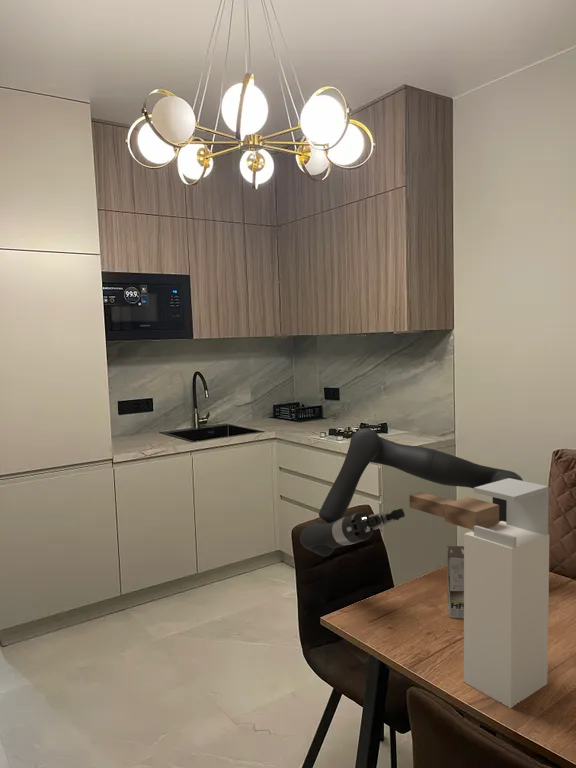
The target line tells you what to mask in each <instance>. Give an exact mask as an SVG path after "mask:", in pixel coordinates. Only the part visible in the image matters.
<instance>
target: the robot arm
mask: <svg viewBox="0 0 576 768" xmlns="http://www.w3.org/2000/svg"><path fill="white" fill-rule="evenodd" d="M370 463H374V464H379V465H383V466H387V467H391V468H395V469H397V470H399V471H401V472H404V473H407V474H409V475H411V476H414V477H417V478H419V479H421V480H422V479H423V480H425V481H428V482H432V483H435V484H438V485H443V486H449V487H460V488H470V489H473V490H474V487H478V486H482V485H485V484H489V483H493V482H497V481H500V480H504V479H508V478H511V479H516V480H521V481H524V479H523V478H522V476H520V474H518V473H516V472H514V471H511V470H506V469H502V468H501V469H500V468H497V467H491V466H485V465H482V464H481V465H480V464H478V463H475V462H472V461H469V460H467V459H464V458H462V457H459V456H455V455H453V454H450V453H447V452H443V451H440V450H436V449H434V448H429V447H424V446H416V445H410V444H409V445H408V444H401V443H398V442H394V441H392V440H389V439H386V438H384V437H381V436H379V434H378V433H377V432H376V431H375V430H373V429H372V428H367V427H365V428H360V429H359V430H356V431H355V432H354V433H353V435H352V436H351V437H350V441H349V447H348V450H347V452H346V455H345V459H344V461H343V464H342V466H341V468H340V470H339V472H338V475H337V477H336V478H335V481H334V482H333V484H332V486H331V488H330V490H329V492H328V493H327V496H326V497H325V500H324V501H323V503H322V505H321V507H320V509H319V512H318V516H319V518H320V520H322V521H324V522H321V523H319V522H318V523H312V524H309V525H307V526H305V528H303V529H302V530H301V533H300V536H299V540H300V544H301V545H302V547H303V548H304V549H306V550H308V551H310V552H312V553H315V554H317V555H319V556H321V557H329V556H330V555H331V554H333V553H334V551H335V549H337V548H341V547H344V546H348V545H349V546H350V545H353V544H357V543H360V542H363V541H367V540H369V539H370V538H371V537H372V535H373V532H374V531H375V530H378V529H380V528H381V527H385V526H388V525H389V523H391V522H395V521H399V520H400V519H402V518H404V517H405V511H404V509H403V508H398V509H393V510H390V511H388V512H385V511H383V512H378V513H375V514H373V513H372V514H369V515H368V514H366V513H365V512H362V511H356V512H354V513H351V514H348V515H346V513H347V511H348V509H349V507H350V504H351V502H352V499H353V497H354V495H355V492H356V489H357V486H358V484H359V483H360V480H361V477H362V475H363V473H364V472H365V470H366V469H367V467H368V465H369V464H370ZM492 503H494V504H498V505H499V522H500V521H504V522H506V514H507V500H503V499H499V498H495V497H492Z"/></svg>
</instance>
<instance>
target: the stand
mask: <svg viewBox="0 0 576 768" xmlns="http://www.w3.org/2000/svg"><path fill="white" fill-rule="evenodd" d="M549 488H550V486H549V485H544V484H540V483H534V482H529V481H525V480H523V481H521V480H516V479H511V478H508V479H504V480H500V481H497V482H493V483H489V484H485V485H482V486H478V487H474V489H473V492H474V493H476V494H479V495H483V496H486V497H487V496H488V497H491V498H493V497H495V498H499V499H503V500H507V514H506V522H504V521H500V522H499V523H498V524H495V525H492V526H489V527H486V528H484V527H480V526H477V525H476V526H474V530H471V531H468V532H466V533H464V535H463V539H464V540H463V544H464V545H463V546H464V619H463V683H465V684H466V685H469V686H470V687H472V688H473V689H475V690H477V691H479V692H481V693H482V694H485V695H486V696H488V697H489V698H491V699H493V700H495V701H497V702H498V703H500V702H501V704H502V705H504V706H506V707H507V706H508V707H507V708H509V709H512V708H513V707H515V706H517V703H518V704H519V703H521V702H522V701H524V700H525V699H527V698H528V697H530V696H531V695H533V694H534V693H536V692H537V691H539V690H540V689H542V688H544V687H545V686H546V685H547V684H548V665H549V664H548V661H549V660H548V659H549V658H548V657H549V656H548V655H549V653H548V650H549V645H548V644H549V591H550V589H549V587H550V586H549V583H550V533H549V503H550V502H549V501H550V499H549V497H550V496H549V495H550V494H549V493H550V492H549V491H550V489H549ZM520 701H521V702H520ZM514 705H515V706H514Z"/></svg>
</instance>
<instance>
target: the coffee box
mask: <svg viewBox="0 0 576 768" xmlns="http://www.w3.org/2000/svg"><path fill="white" fill-rule="evenodd" d="M446 547H447V550H446V551H447V553H446V556H447V557H446V560H447V563H446V565H447V566H446V571H447V574H446V577H447V582H446V583H447V584H446V585H447V586H446V587H447V589H446V590H447V599H446V601H447V602H446V603H447V607H448V614H449V615H448V616H449V618H453V619H462V620H464V545H460V546H459V545H457V546H456V545H455V546H454V545H453V546H452V545H447V546H446Z"/></svg>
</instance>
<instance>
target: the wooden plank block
mask: <svg viewBox="0 0 576 768" xmlns="http://www.w3.org/2000/svg"><path fill="white" fill-rule="evenodd" d="M409 508H410V509H412V510H413V509H414V510H416V511H420V512H423V513H427V514H431V515H433V516H437V517H441V518H443V519H444V522H445V523H448V524H450V525H454V526H458V527H461V528H465V529H469V530H471V531H474V526H476V525H477V526H480V527H484V528H486V527H489V526H492V525H495V524H498V523H499V505H498V504H494V503H493V502H490V501H487V500H486V501H484V500H482V499H477V498H473V497H471V496H470V497H469V496H467V497H464V498H460V499H456V500H453V499H448V498H445V497H441V496H437V495H433V494H430V493H426V492H422V491H420V492H415V493H412V494H409Z"/></svg>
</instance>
